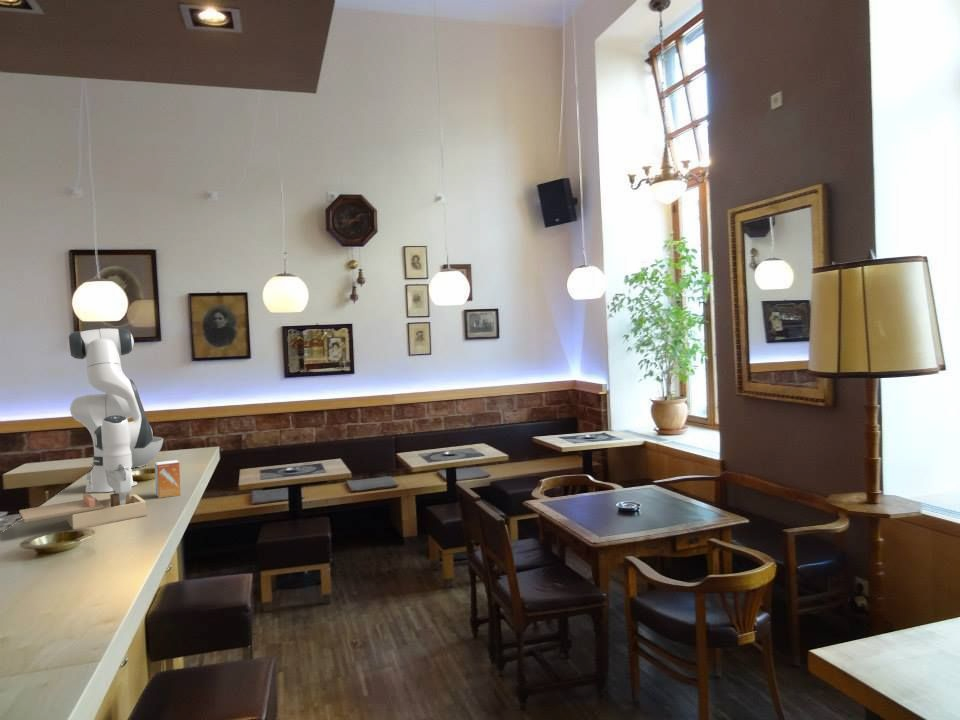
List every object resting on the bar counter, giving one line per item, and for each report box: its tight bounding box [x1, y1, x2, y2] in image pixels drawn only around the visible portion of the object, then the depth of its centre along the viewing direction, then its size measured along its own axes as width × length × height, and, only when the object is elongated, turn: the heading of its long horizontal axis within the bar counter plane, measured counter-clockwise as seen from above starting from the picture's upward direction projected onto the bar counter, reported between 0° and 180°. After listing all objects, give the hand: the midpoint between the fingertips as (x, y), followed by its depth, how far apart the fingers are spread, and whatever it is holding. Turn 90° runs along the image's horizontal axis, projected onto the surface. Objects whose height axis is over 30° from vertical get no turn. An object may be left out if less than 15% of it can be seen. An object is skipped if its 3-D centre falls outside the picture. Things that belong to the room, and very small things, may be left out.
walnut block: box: [109, 493, 130, 507], centre depth 235 cm, size 5×5×7 cm
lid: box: [18, 492, 104, 523], centre depth 223 cm, size 15×22×3 cm
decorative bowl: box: [131, 436, 164, 469], centre depth 323 cm, size 27×27×12 cm
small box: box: [154, 459, 182, 499], centre depth 262 cm, size 8×6×13 cm
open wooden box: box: [65, 493, 148, 530], centre depth 232 cm, size 15×22×5 cm
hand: (120, 502), depth 235 cm, fingers open, 5 cm apart
